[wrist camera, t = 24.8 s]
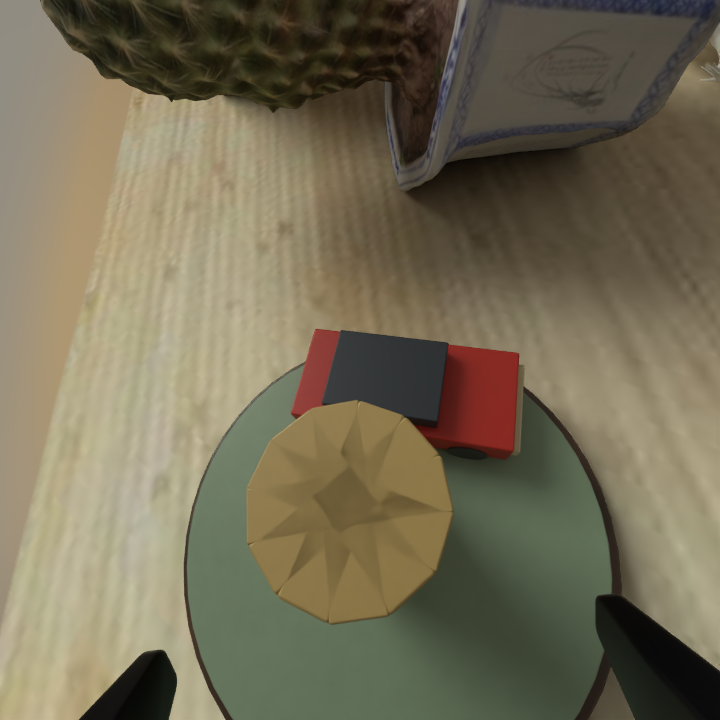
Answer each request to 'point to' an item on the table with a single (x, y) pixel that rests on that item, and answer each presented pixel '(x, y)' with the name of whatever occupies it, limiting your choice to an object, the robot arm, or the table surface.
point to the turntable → (398, 544)
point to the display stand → (605, 665)
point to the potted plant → (411, 62)
